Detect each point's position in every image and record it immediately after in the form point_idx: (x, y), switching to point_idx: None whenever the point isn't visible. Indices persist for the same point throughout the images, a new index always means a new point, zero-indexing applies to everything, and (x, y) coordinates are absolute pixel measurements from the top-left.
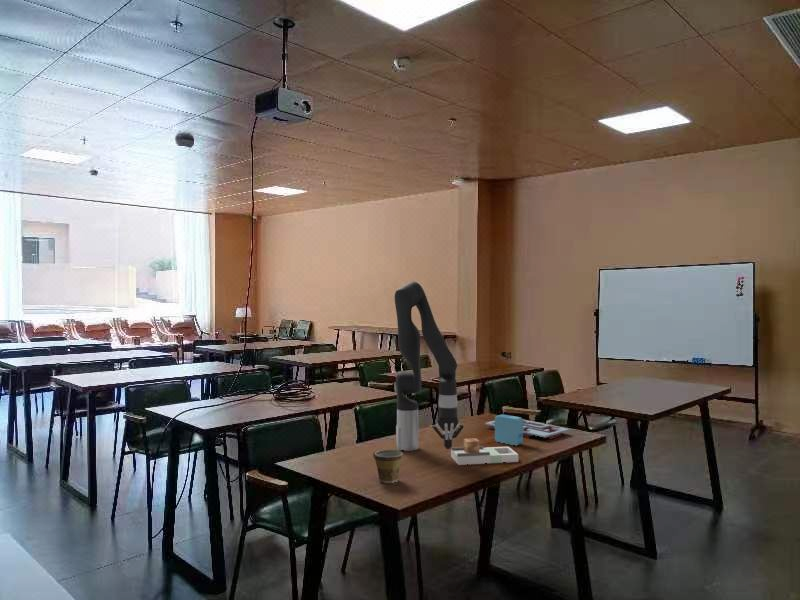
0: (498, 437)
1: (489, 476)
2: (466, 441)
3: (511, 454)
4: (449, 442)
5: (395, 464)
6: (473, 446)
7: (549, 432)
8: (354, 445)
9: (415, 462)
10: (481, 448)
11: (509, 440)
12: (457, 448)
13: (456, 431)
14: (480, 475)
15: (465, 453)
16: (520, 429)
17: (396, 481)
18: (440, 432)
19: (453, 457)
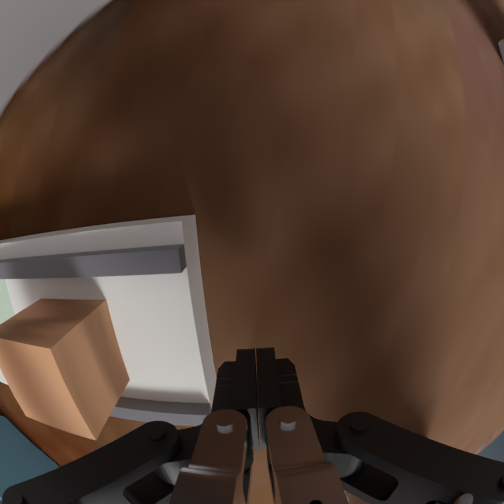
0: (46, 470)
1: (89, 17)
2: (62, 371)
3: None
4: (244, 387)
5: None
6: (36, 321)
7: None
8: (484, 446)
9: (443, 298)
10: None
11: (15, 440)
12: (169, 409)
13: (119, 491)
14: (122, 20)
15: (111, 261)
16: None
17: (500, 40)
18: (407, 470)
19: (209, 353)
